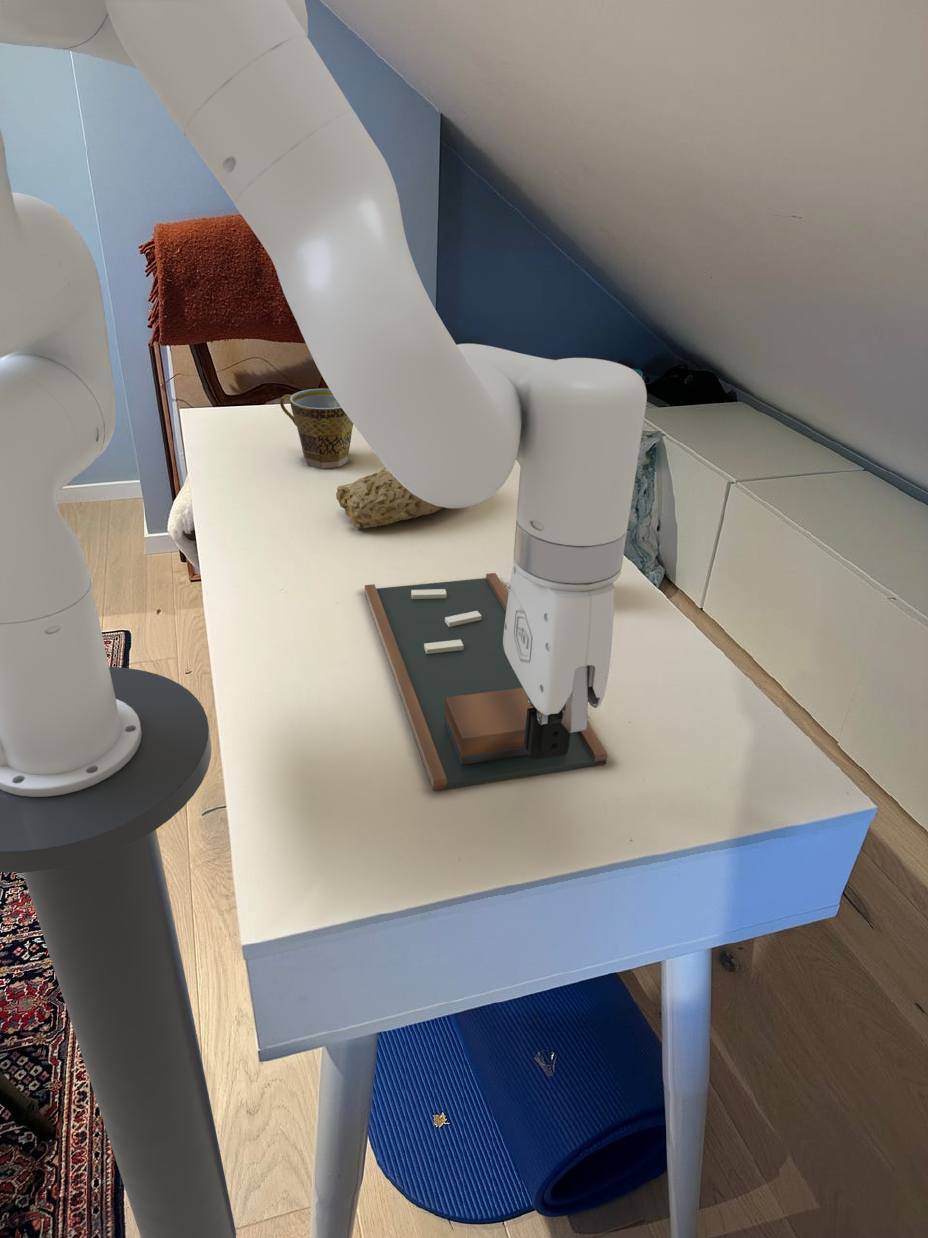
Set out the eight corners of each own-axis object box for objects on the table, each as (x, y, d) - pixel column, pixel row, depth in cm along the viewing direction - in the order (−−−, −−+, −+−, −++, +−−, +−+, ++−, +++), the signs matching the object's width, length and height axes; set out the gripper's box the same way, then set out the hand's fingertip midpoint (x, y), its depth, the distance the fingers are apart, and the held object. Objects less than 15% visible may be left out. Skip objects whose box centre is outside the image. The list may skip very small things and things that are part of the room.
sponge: (364, 549, 113) (497, 499, 118) (347, 494, 110) (486, 445, 115) (336, 525, 124) (460, 481, 130) (320, 474, 121) (448, 430, 126)
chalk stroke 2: (426, 654, 90) (426, 649, 89) (423, 648, 91) (424, 643, 90) (463, 650, 91) (463, 645, 90) (460, 643, 92) (460, 639, 91)
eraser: (461, 765, 75) (462, 738, 74) (444, 723, 80) (445, 697, 79) (567, 749, 78) (571, 723, 76) (545, 709, 83) (547, 684, 81)
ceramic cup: (369, 457, 138) (369, 395, 132) (335, 477, 130) (332, 413, 125) (302, 441, 142) (298, 381, 137) (264, 460, 134) (259, 397, 129)
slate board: (433, 791, 73) (433, 780, 73) (364, 593, 101) (364, 584, 100) (606, 764, 77) (608, 753, 77) (494, 581, 105) (495, 572, 104)
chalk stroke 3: (449, 627, 94) (449, 622, 94) (444, 621, 95) (444, 617, 95) (481, 620, 96) (481, 615, 96) (476, 615, 97) (477, 610, 97)
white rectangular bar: (412, 599, 99) (412, 594, 99) (411, 594, 100) (411, 589, 100) (446, 598, 100) (446, 594, 99) (445, 593, 101) (445, 588, 100)
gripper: (485, 506, 65) (474, 702, 74) (555, 607, 52) (531, 825, 62) (579, 498, 66) (556, 690, 76) (667, 594, 54) (627, 808, 64)
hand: (545, 750), depth 69 cm, fingers closed
